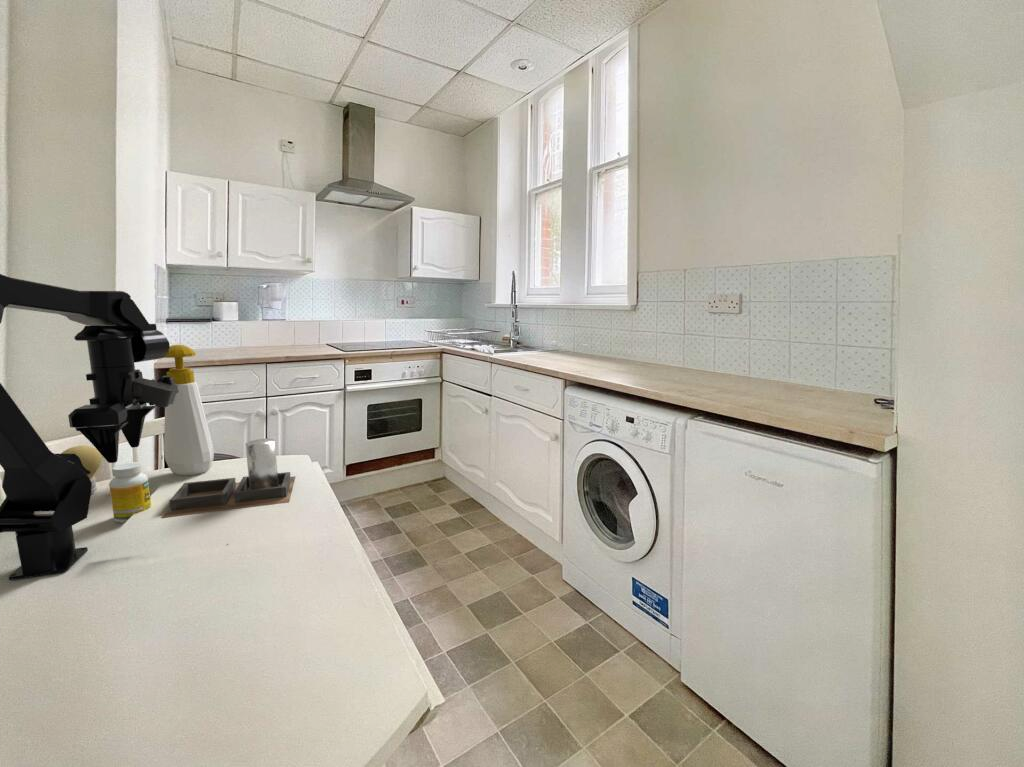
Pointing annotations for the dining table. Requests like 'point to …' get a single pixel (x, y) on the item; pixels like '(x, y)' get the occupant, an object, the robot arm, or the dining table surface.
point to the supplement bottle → (129, 491)
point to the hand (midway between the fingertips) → (124, 454)
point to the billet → (262, 463)
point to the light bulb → (87, 460)
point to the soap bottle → (186, 421)
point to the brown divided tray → (227, 495)
